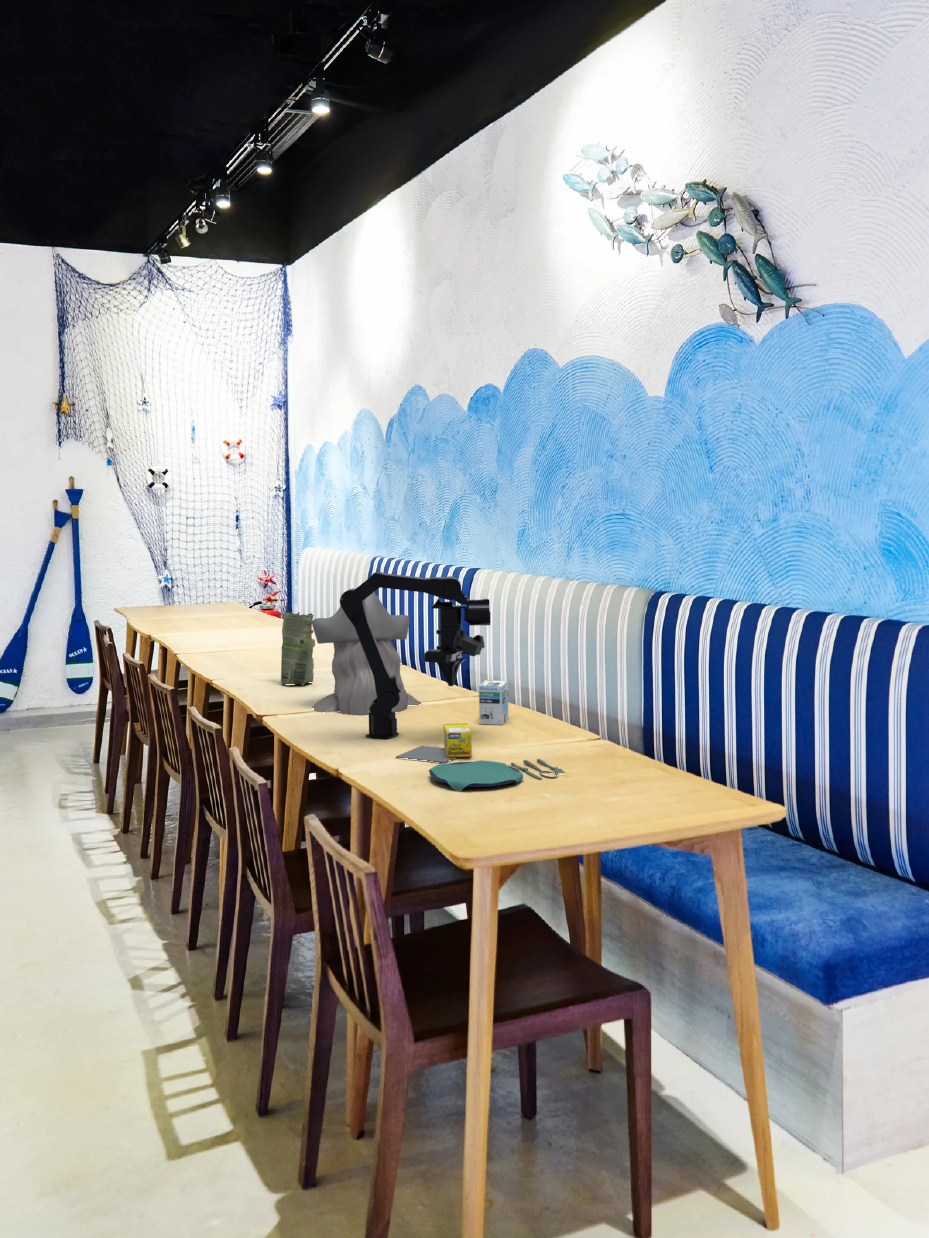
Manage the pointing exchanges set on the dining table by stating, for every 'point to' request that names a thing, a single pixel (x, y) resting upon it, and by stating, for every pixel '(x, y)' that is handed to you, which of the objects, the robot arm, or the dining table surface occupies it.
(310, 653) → the pouch
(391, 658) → the gray wizard statue
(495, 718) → the light bulb box
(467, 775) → the cutlery set
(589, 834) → the dining table surface
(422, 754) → the mat
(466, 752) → the supplement box
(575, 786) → the dining table surface
